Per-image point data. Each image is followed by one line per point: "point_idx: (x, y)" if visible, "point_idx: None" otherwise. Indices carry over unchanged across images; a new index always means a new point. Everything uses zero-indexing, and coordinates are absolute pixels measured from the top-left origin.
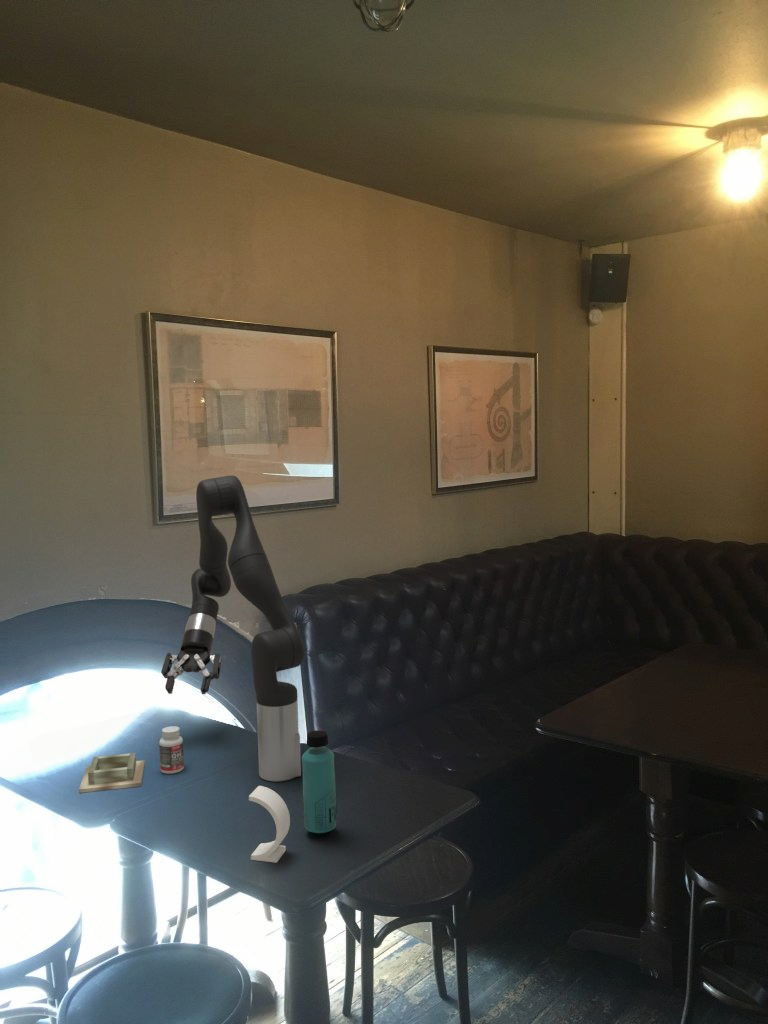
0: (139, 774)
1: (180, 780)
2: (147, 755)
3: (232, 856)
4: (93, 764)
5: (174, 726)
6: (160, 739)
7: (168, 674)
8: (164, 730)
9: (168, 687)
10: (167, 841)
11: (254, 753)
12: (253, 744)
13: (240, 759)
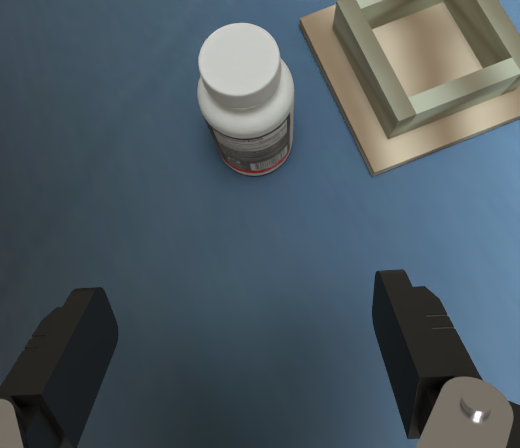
0: (333, 67)
1: (198, 75)
2: (399, 245)
3: None
4: (494, 11)
5: (234, 90)
6: (287, 73)
7: (490, 395)
8: (260, 36)
9: (396, 280)
10: None
11: (15, 305)
12: None
13: (53, 247)
